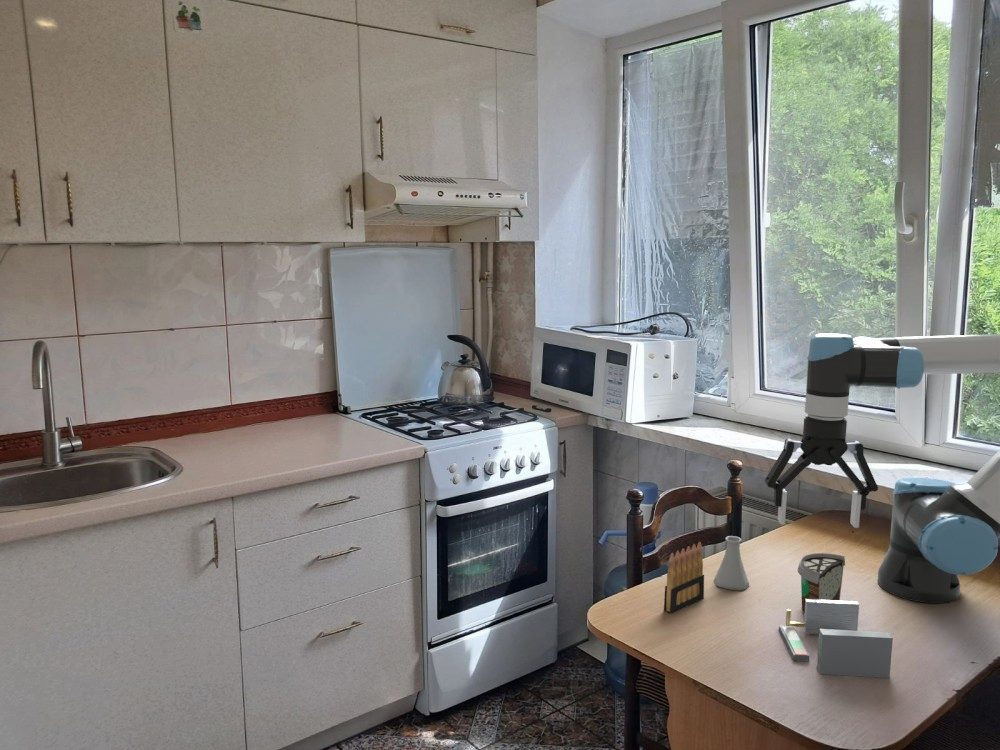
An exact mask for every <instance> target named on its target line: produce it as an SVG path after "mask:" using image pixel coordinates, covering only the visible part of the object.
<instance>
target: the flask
mask: <svg viewBox="0 0 1000 750" xmlns="http://www.w3.org/2000/svg"><path fill="white" fill-rule="evenodd" d="M725 541H726V547H725V552H724V555H723V558H722V560H721V563H720V565H719V568H718V569H717V571H716V574H715V575H714V579H713V581H714V584H715V586H716V587H719V588H723V589H727V590H731V591H735V590H736V591H738V590H740V591H744V590H746V588H749V587H750V582H749V580H748V576H747V574H746V571H745V568H744V564H743V560H742V556H741V550H740V547H741V545H740V544H741V543H742V538H741V537H739V536H736V535H734V536H733V535H728V536H726V537H725Z"/></svg>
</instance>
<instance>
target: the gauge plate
mask: <svg viewBox="0 0 1000 750" xmlns="http://www.w3.org/2000/svg"><path fill="white" fill-rule="evenodd" d="M859 611H860V603H859V602H858V601H855V600H840V601H838V600H816V599H806V601H805V614H804V616H803V617H804V619H803V621H802V622H801V621H791V617H792V616H791V614H792V611H791V609H789V608H788V609H786V615H785V617H786V618H785V625H786V626H794V627H796V628H797V627H798V628H799V627H801V628H803V631H804V633H805V634H806V633H807V634H818V635H819V629H832V630H853V631H858V623H859Z"/></svg>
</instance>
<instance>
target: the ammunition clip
mask: <svg viewBox="0 0 1000 750" xmlns="http://www.w3.org/2000/svg"><path fill="white" fill-rule="evenodd" d="M703 566H704V561H703V547H702V543H701V541H698V543H697V546H696V543H693V545H692V546H691V547H690V546H689V545H688V546H687V547H686V550H685V548H684V547H683V548H682V549H681V551H679V550H676V552H675V555H674V553H673V552H671V553H670V555H669V559H668V566H667V567H668V568H667V569H668V570H667V574H666V585H665V586H664V600H663V601H664V603H663V611H664V612H667V613H669V614H670V615H673V614H675V613H676V612H679V611H681V610H683V609H685V608H687V607H689V606H691V605H693V604H695V603H697V602H699V600H700V601H702V600H704V599H705V575H704V574H703V573H704V572H703V568H704V567H703Z"/></svg>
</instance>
